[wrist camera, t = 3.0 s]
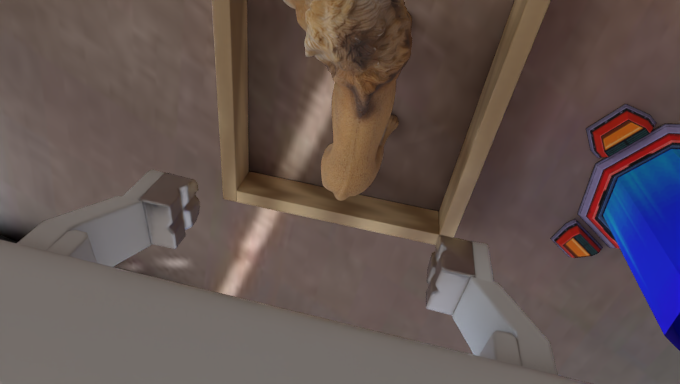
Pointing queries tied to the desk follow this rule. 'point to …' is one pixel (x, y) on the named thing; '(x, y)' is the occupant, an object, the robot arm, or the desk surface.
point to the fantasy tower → (635, 207)
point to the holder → (359, 208)
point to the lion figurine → (357, 81)
